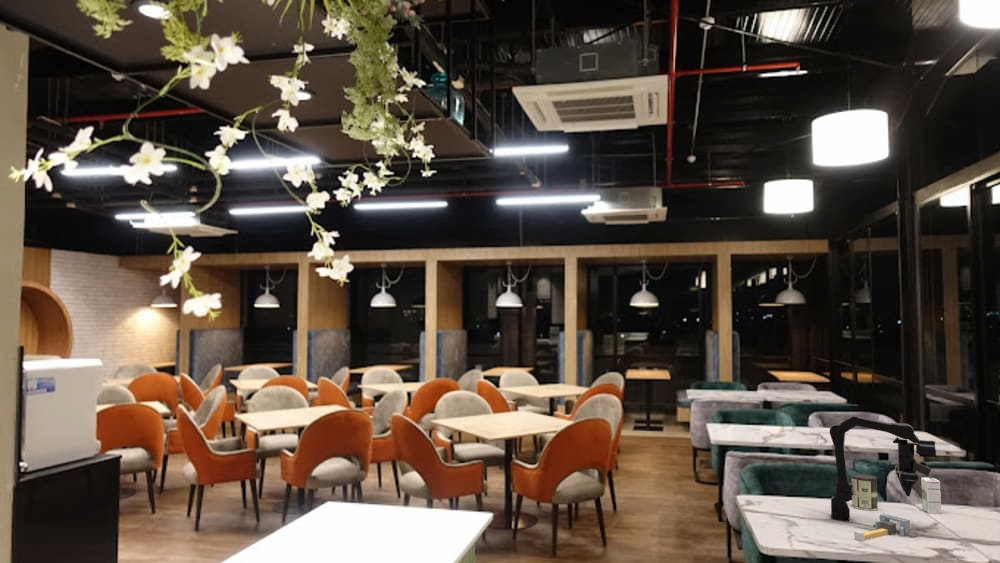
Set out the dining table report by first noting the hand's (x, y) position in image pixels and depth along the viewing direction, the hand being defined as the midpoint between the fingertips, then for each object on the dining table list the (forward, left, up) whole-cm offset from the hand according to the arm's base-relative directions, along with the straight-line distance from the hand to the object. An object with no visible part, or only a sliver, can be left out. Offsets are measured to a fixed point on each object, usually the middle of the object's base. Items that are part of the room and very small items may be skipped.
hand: (906, 493), depth 269 cm
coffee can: (-11, +29, -14) cm, 34 cm away
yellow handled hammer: (-14, -17, -14) cm, 26 cm away
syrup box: (+16, +33, -14) cm, 39 cm away
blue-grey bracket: (-6, -8, -14) cm, 17 cm away
